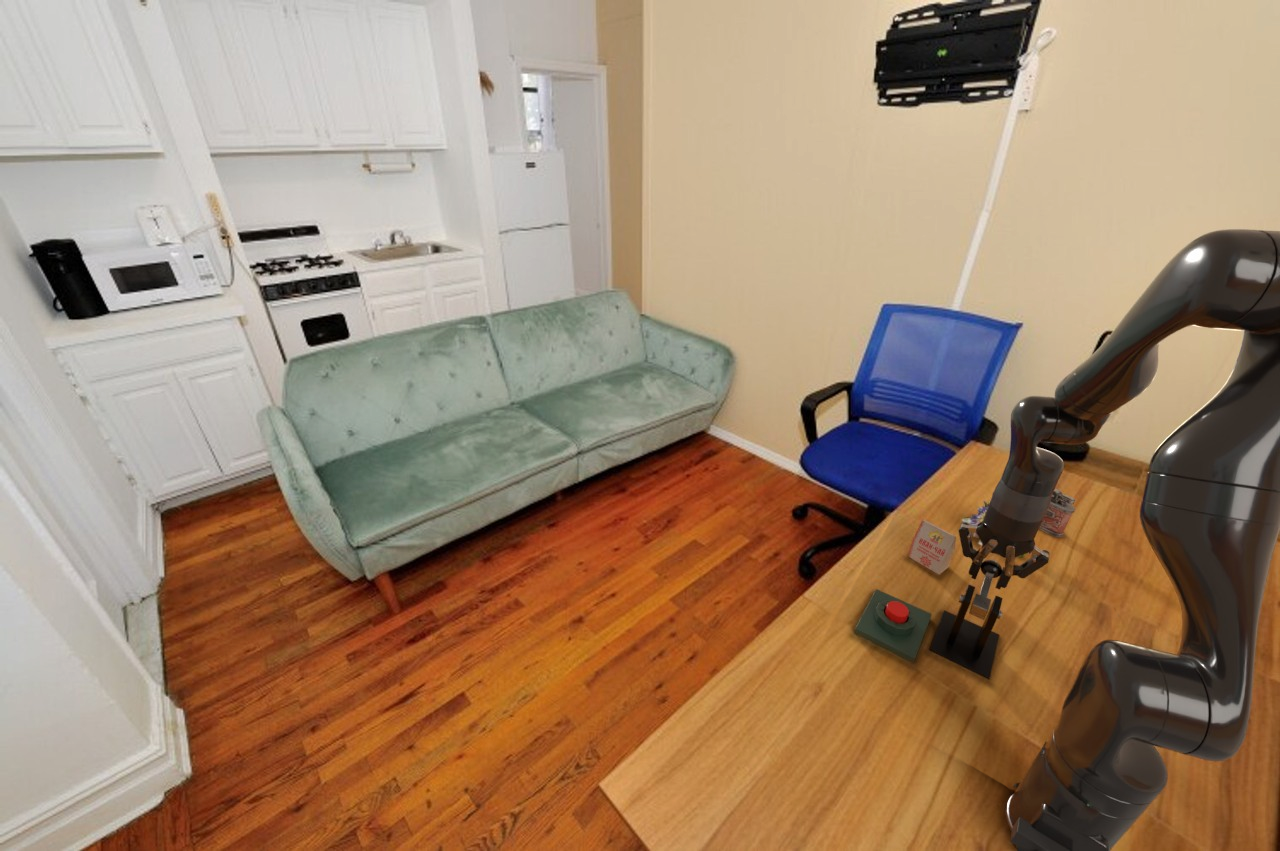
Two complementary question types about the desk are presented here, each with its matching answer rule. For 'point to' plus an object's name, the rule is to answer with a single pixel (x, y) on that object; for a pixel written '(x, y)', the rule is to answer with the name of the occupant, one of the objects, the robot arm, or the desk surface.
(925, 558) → the tea bag
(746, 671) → the desk surface
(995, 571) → the switch
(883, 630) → the button block
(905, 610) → the button
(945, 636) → the bracket
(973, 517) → the passion flower
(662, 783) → the desk surface
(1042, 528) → the lighter
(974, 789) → the desk surface
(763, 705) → the desk surface
